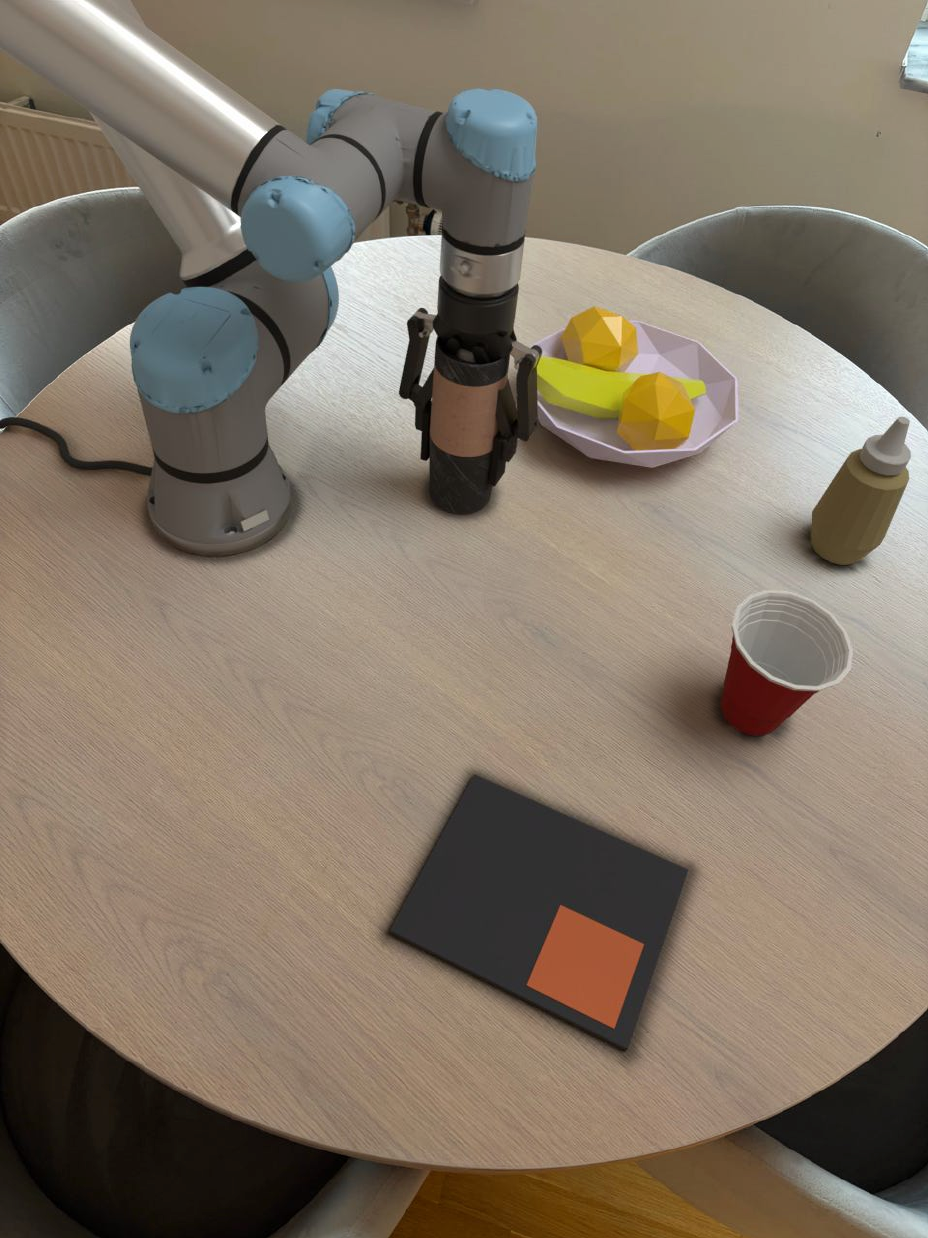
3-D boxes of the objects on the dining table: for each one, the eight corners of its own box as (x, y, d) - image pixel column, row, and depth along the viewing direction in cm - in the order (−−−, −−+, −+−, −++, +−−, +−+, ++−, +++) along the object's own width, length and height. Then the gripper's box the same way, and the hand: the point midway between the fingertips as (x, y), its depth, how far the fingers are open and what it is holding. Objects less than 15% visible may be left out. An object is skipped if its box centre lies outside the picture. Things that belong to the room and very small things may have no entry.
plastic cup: (786, 781, 87) (835, 706, 78) (679, 724, 90) (713, 646, 81) (823, 700, 93) (872, 623, 84) (721, 650, 96) (757, 570, 87)
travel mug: (486, 522, 106) (504, 372, 91) (419, 509, 106) (426, 358, 91) (498, 477, 111) (518, 328, 95) (434, 465, 111) (443, 315, 96)
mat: (389, 933, 75) (389, 930, 75) (473, 777, 85) (474, 773, 84) (626, 1051, 71) (628, 1049, 70) (686, 872, 80) (688, 869, 80)
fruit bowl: (724, 373, 127) (749, 298, 119) (724, 510, 110) (754, 433, 101) (518, 340, 129) (528, 263, 120) (487, 469, 112) (496, 390, 103)
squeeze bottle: (877, 537, 109) (949, 410, 95) (865, 583, 104) (940, 457, 90) (807, 513, 111) (869, 385, 97) (793, 557, 106) (855, 429, 92)
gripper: (362, 264, 88) (364, 454, 105) (567, 331, 83) (534, 518, 101) (400, 230, 93) (396, 417, 110) (596, 291, 88) (560, 476, 105)
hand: (462, 465), depth 105 cm, fingers closed on travel mug, 8 cm apart
